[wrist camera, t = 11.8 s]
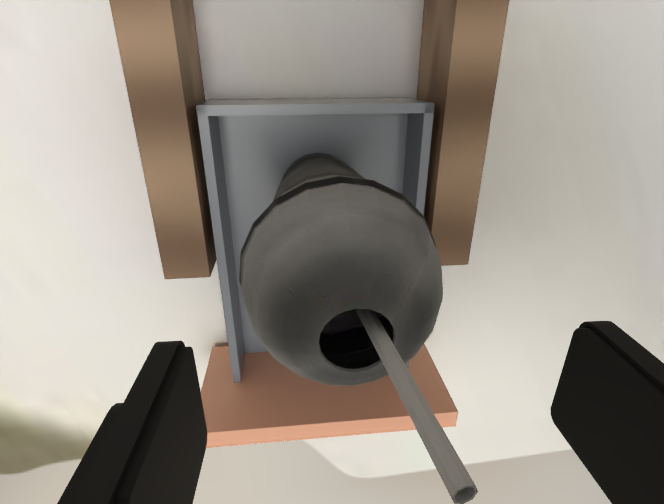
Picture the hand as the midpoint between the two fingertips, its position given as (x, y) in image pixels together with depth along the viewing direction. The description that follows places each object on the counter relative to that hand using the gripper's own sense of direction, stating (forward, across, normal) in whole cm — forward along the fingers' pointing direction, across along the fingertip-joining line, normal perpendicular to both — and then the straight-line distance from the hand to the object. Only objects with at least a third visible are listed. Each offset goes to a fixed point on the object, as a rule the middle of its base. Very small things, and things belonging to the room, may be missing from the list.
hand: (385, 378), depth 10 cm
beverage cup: (+17, +1, 0) cm, 17 cm away
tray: (+18, +1, +3) cm, 19 cm away
